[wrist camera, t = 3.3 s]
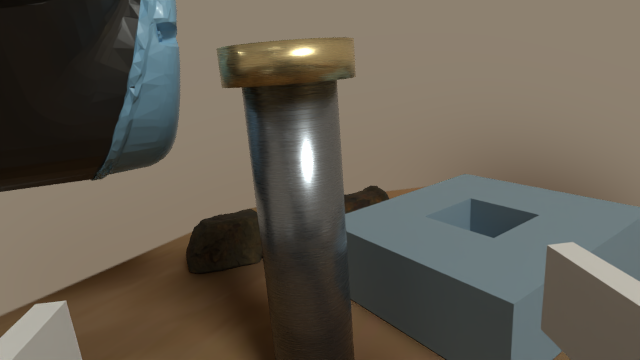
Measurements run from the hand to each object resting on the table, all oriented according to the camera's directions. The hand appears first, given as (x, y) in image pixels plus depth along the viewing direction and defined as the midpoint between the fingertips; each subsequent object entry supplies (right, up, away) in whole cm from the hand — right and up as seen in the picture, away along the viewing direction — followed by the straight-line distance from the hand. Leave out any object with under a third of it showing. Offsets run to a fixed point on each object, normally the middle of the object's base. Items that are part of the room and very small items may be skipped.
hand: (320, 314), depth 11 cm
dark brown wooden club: (-2, -3, +26) cm, 26 cm away
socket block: (+11, -3, +18) cm, 21 cm away
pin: (0, -7, +10) cm, 12 cm away
